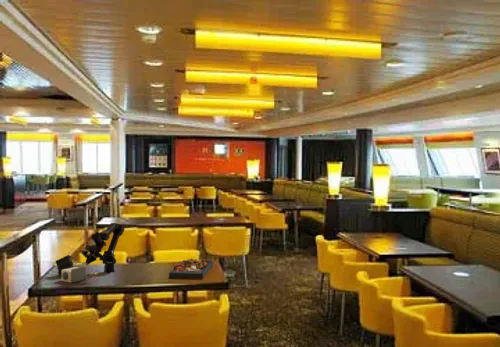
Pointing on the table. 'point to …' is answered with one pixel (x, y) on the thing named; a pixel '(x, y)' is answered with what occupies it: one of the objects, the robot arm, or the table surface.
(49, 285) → the table surface
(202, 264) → the food platter
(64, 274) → the block
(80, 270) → the side door
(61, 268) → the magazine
